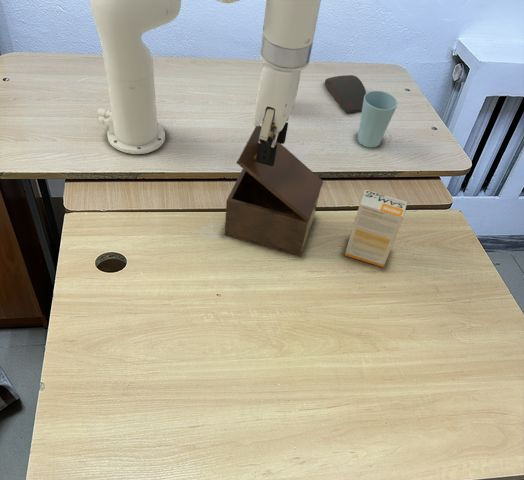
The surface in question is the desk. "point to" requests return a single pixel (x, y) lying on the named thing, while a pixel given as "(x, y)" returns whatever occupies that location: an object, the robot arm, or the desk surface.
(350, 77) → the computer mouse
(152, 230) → the desk surface
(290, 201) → the lid
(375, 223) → the supplement box
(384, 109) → the cup
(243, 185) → the chest
